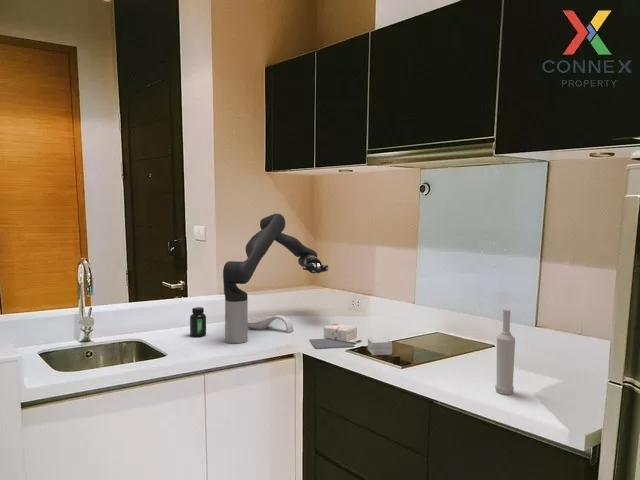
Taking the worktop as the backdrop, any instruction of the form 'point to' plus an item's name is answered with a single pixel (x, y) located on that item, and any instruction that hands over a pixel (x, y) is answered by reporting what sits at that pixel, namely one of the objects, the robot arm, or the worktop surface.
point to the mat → (329, 343)
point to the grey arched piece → (269, 322)
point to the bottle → (505, 357)
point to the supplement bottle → (197, 322)
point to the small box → (380, 346)
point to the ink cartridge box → (341, 333)
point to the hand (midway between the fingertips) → (318, 271)
